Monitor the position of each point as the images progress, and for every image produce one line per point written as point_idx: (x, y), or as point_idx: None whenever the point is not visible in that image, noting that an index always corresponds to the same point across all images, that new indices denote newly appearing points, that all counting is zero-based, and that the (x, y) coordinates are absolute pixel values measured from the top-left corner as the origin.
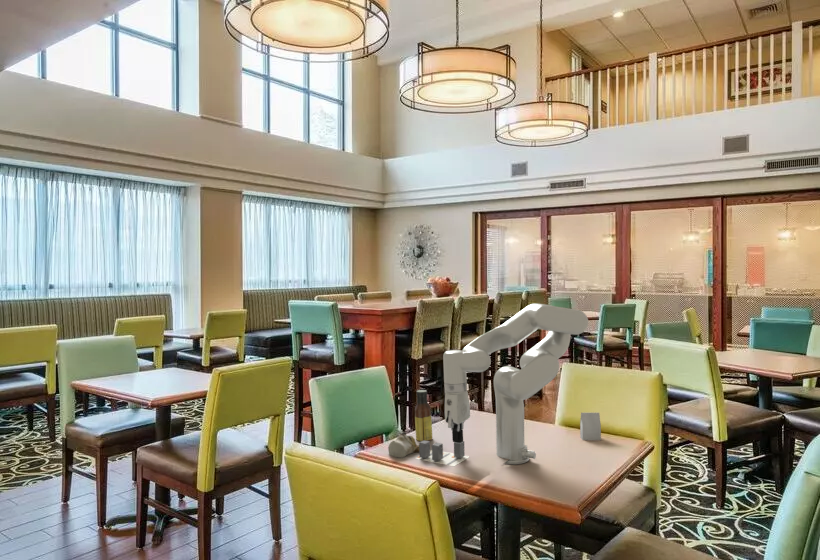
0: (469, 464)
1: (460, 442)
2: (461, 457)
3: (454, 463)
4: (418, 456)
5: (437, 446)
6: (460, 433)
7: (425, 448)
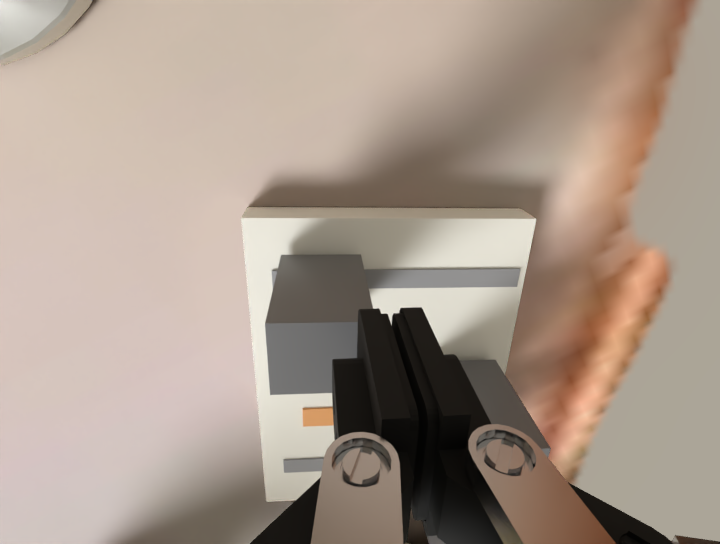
0: (327, 171)
1: (418, 313)
2: (340, 254)
3: (471, 246)
4: None
5: (545, 450)
6: (458, 388)
7: None
